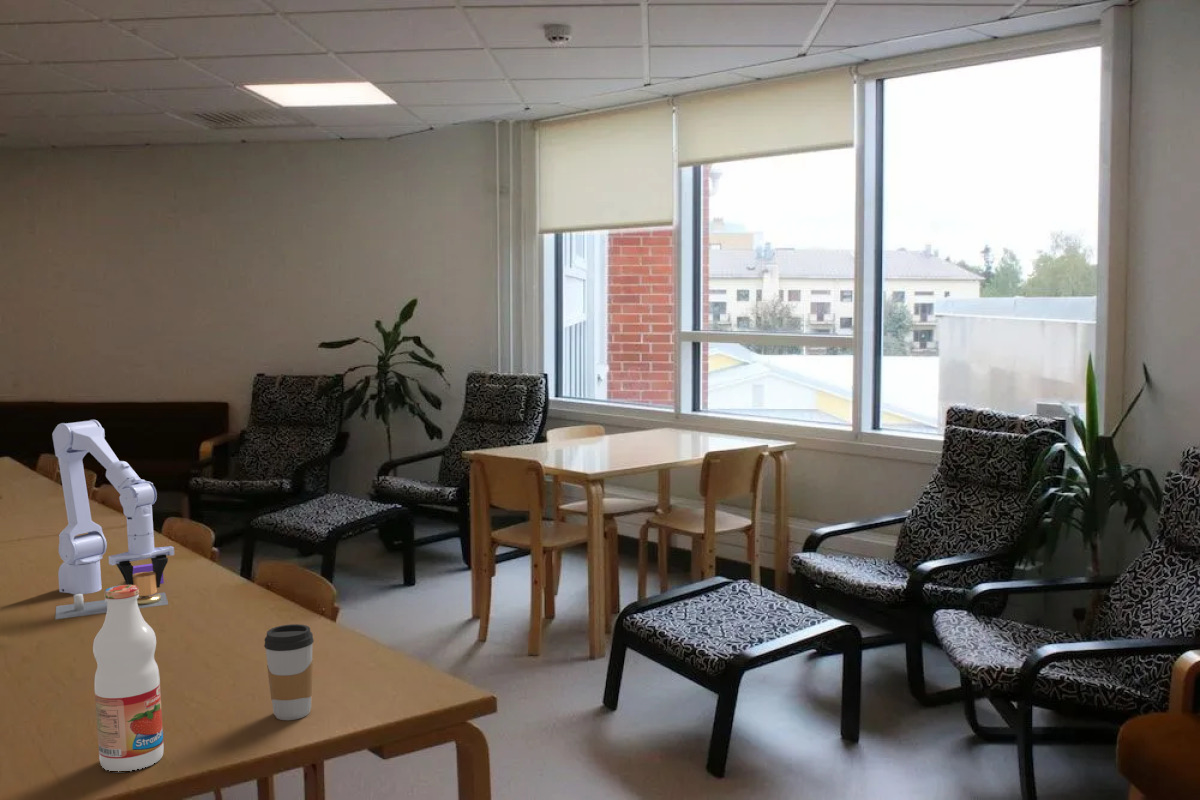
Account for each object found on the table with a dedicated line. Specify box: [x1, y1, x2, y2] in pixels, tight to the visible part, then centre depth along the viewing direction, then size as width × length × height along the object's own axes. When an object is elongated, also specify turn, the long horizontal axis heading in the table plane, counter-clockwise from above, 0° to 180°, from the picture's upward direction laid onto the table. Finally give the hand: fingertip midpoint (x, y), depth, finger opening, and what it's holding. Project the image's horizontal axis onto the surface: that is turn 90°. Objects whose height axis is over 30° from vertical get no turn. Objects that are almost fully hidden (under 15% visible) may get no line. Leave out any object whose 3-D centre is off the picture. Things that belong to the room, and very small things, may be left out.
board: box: [55, 592, 169, 620], centre depth 254 cm, size 24×12×5 cm, turn 116°
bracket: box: [132, 563, 165, 585], centre depth 277 cm, size 12×7×7 cm, turn 31°
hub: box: [137, 592, 161, 605], centre depth 257 cm, size 7×7×5 cm
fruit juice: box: [92, 584, 165, 773], centre depth 169 cm, size 9×9×28 cm
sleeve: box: [133, 571, 158, 596], centre depth 256 cm, size 5×5×4 cm
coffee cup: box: [263, 623, 314, 721], centre depth 187 cm, size 8×8×15 cm
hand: (143, 589), depth 257 cm, fingers closed on sleeve, 5 cm apart
